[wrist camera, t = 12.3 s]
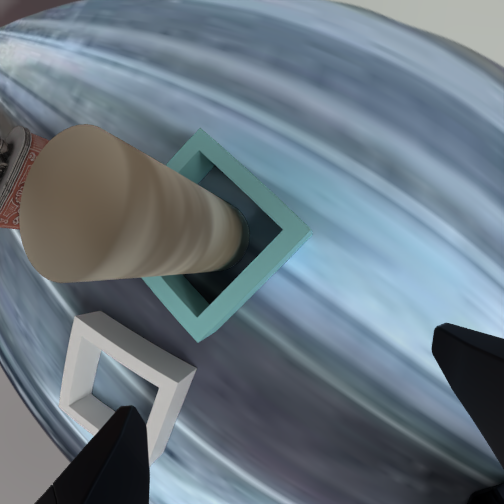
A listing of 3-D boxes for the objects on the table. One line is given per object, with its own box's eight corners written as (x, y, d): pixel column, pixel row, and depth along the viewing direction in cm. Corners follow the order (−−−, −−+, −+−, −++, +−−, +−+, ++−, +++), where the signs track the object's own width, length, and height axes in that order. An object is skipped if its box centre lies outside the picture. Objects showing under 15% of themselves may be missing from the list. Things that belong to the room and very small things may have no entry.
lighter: (79, 145, 23) (-10, 106, 13) (97, 166, 22) (1, 128, 13) (34, 219, 24) (-54, 206, 14) (49, 243, 23) (-46, 236, 14)
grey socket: (196, 368, 20) (178, 383, 17) (163, 452, 21) (145, 471, 18) (100, 310, 22) (74, 315, 19) (81, 396, 22) (58, 407, 20)
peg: (233, 282, 20) (93, 312, 7) (174, 255, 21) (7, 247, 8) (260, 215, 20) (152, 139, 7) (198, 192, 20) (50, 116, 8)
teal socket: (312, 234, 19) (311, 229, 16) (215, 331, 20) (197, 342, 17) (216, 144, 20) (200, 127, 17) (133, 238, 21) (108, 235, 19)
